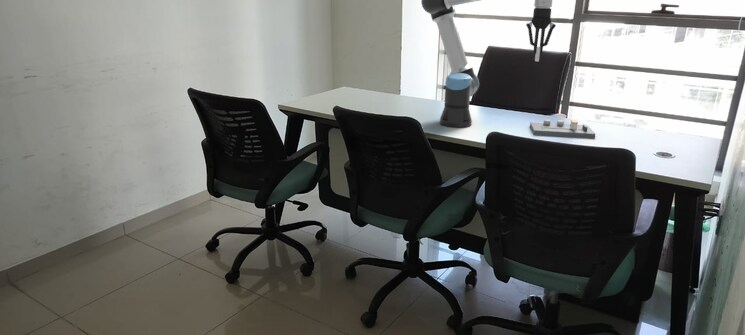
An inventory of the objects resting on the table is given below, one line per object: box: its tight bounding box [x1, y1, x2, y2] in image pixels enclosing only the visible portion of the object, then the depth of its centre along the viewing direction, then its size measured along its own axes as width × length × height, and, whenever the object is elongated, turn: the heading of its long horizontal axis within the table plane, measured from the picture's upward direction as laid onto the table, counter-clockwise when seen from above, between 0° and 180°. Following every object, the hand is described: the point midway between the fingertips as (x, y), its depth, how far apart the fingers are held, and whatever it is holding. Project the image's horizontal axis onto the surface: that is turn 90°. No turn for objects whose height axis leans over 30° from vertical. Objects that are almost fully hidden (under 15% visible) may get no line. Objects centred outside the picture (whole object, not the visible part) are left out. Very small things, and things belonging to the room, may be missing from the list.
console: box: [529, 119, 596, 139], centre depth 242 cm, size 26×16×4 cm, turn 80°
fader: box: [570, 119, 579, 130], centre depth 239 cm, size 2×4×3 cm, turn 170°
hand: (536, 61), depth 245 cm, fingers closed
